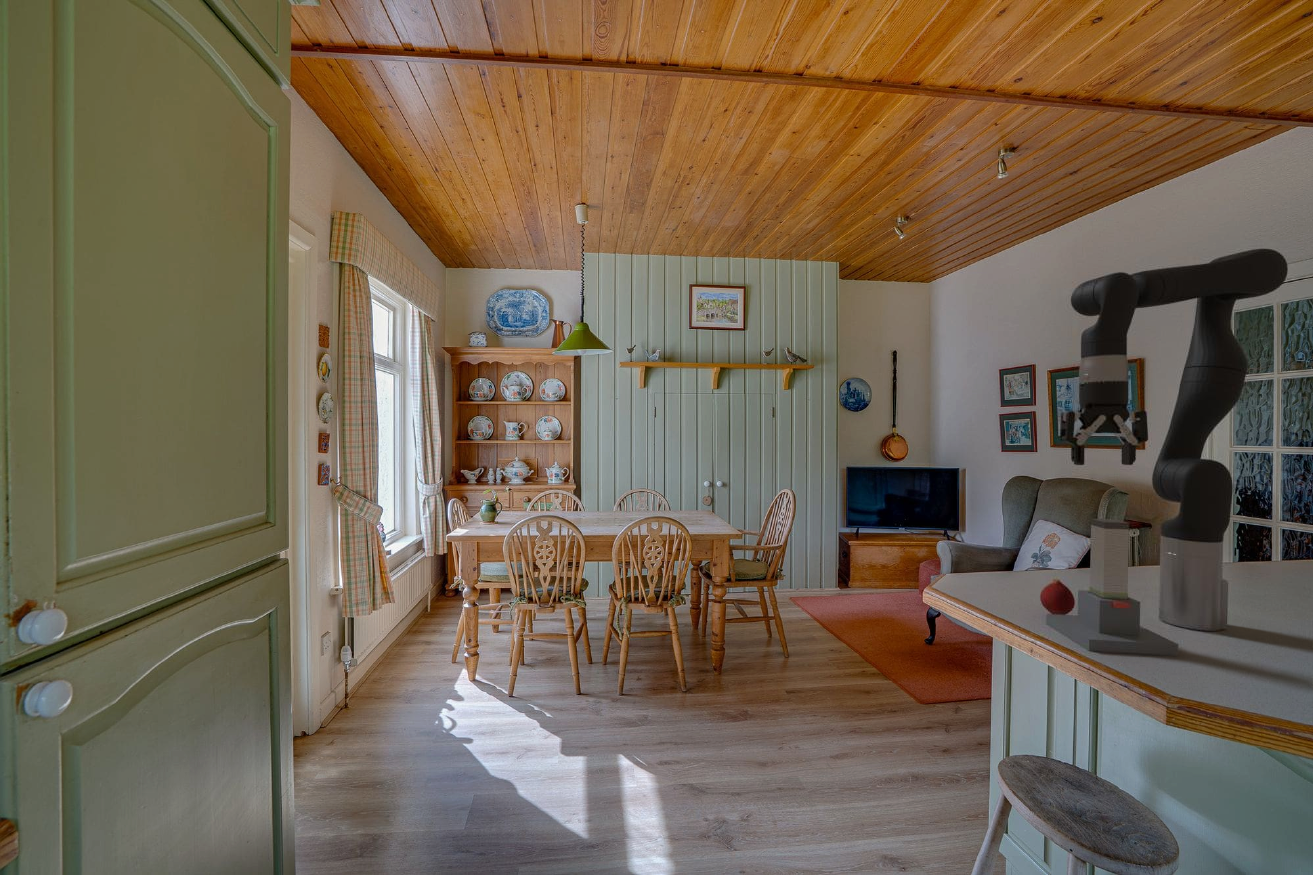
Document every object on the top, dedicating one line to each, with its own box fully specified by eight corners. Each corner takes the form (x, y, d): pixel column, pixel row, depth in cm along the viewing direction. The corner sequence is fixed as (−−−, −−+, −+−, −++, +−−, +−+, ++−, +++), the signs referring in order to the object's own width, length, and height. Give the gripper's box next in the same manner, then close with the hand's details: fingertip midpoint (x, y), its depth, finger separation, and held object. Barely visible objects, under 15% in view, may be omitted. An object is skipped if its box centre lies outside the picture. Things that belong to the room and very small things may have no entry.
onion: (1063, 613, 121) (1064, 575, 121) (1080, 622, 115) (1081, 583, 115) (1034, 612, 122) (1035, 574, 122) (1050, 621, 116) (1051, 581, 116)
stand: (1123, 627, 112) (1124, 587, 112) (1178, 655, 98) (1179, 609, 98) (1046, 623, 114) (1046, 583, 114) (1089, 650, 100) (1089, 605, 100)
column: (1113, 594, 108) (1114, 519, 108) (1127, 601, 104) (1129, 522, 104) (1089, 593, 109) (1090, 518, 108) (1103, 600, 105) (1104, 522, 104)
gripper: (1130, 381, 113) (1130, 463, 113) (1052, 382, 115) (1052, 463, 115) (1158, 378, 106) (1158, 466, 106) (1074, 379, 107) (1074, 466, 108)
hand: (1102, 464), depth 111 cm, fingers open, 8 cm apart
